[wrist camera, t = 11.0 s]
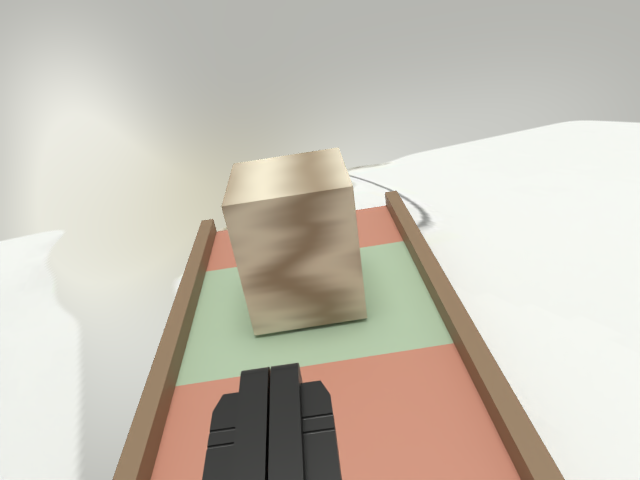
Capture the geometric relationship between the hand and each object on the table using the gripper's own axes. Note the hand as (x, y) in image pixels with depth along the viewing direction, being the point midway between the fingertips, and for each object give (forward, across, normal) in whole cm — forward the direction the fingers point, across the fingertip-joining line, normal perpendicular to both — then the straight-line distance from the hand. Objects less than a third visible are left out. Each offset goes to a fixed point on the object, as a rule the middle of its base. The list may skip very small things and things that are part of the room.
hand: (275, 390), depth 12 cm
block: (+21, 0, +13) cm, 25 cm away
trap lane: (+18, 0, +13) cm, 23 cm away
